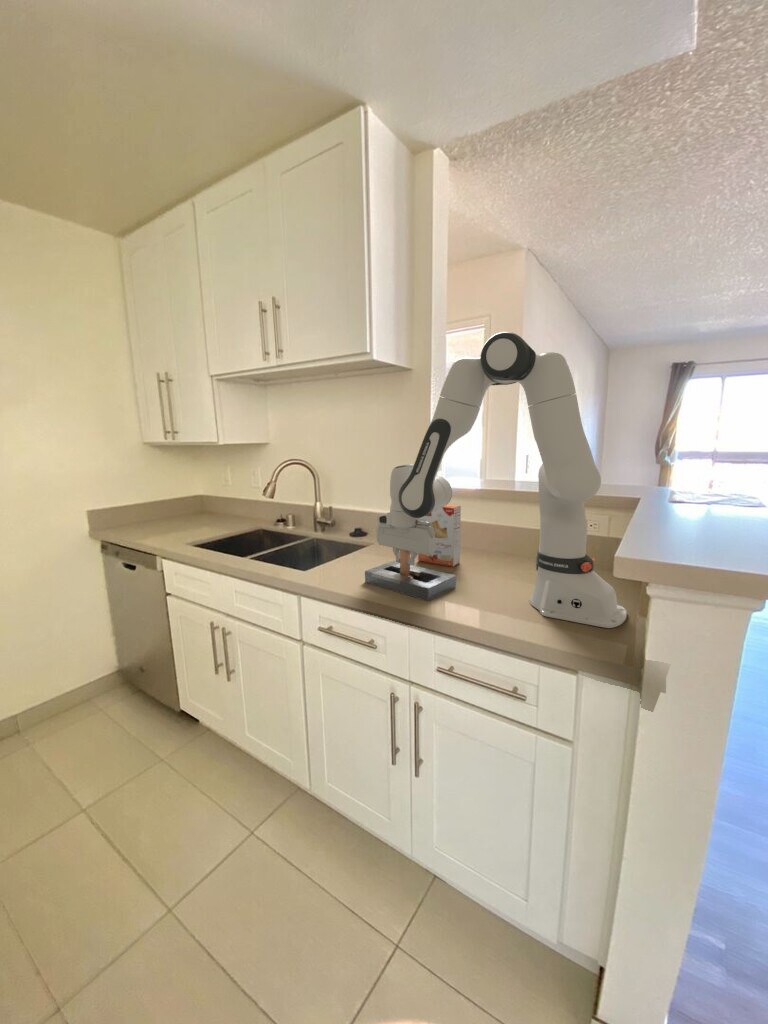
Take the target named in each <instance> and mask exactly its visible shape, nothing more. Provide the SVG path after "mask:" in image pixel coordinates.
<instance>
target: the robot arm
mask: <svg viewBox="0 0 768 1024" xmlns="http://www.w3.org/2000/svg"><path fill="white" fill-rule="evenodd" d="M516 383H519V384H520V385H521V386H522V389H523V391H524V394H525V398H526V403H527V406H528V408H527V409H528V413H529V419H530V423H531V428H532V433H533V439H534V441H535V443H536V446H537V449H538V453H539V455H540V458H541V462H542V464H541V465H540V467H539V469H538V474H537V476H538V477H537V478H538V504H539V505H538V506H539V507H538V508H539V517H540V518H539V519H540V520H539V521H540V522H539V542H538V543H539V545H538V550H537V552H536V559H535V560H536V561H535V567H536V568H535V569H536V577H535V583H534V587H533V590H532V593H531V597H530V599H529V603H530V605H531V606H532V607H533V608H535V609H537V610H538V611H539V613H540V614H541V615H542V616H544V617H548V618H553V619H557V620H563V621H569V622H574V623H579V624H585V625H589V626H594V627H601V628H605V629H613V628H616V627H619V626H621V625H622V624H623V623H624V622H625V621H626V620H627V615H628V614H627V609H626V608H625V607H623V606H622V605H619V604H618V599H617V593H616V590H615V588H614V587H613V586H612V585H611V584H609V583H608V582H607V581H606V580H604V578H602V577H601V576H600V575H598V573H596V572H595V571H594V568H595V566H594V564H595V560H596V558H595V557H593V558H591V557H590V556H589V555H587V538H588V529H589V527H588V520H587V516H586V509H585V508H586V507H585V502H587V501H589V500H591V499H593V498H594V497H595V495H597V493H598V492H599V490H600V488H601V482H602V477H601V474H600V472H599V470H598V467H597V465H596V463H595V460H594V456H593V453H592V450H591V447H590V445H589V442H588V439H587V437H586V433H585V430H584V427H583V424H582V423H583V422H582V418H581V412H580V407H579V402H578V396H577V392H576V390H577V389H576V385H575V382H574V379H573V375H572V373H571V370H570V366H569V364H568V362H567V360H566V358H565V356H564V355H563V354H561V353H559V352H554V351H553V352H552V351H551V352H550V351H549V352H544V353H540V354H536V352H535V350H534V349H533V348H532V347H531V346H530V345H529V344H528V343H527V342H526V341H525V340H524V338H522V337H521V336H520V335H518V334H517V333H514V332H510V331H501V332H499V333H496V334H494V335H492V336H491V337H489V338H488V339H487V340H486V342H484V345H483V347H482V348H481V352H480V357H478V358H477V357H476V358H475V357H470V356H466V357H461V358H458V359H456V360H455V361H454V362H453V363H452V365H451V366H450V368H449V371H448V374H447V375H446V377H445V379H444V382H443V384H442V385H443V386H442V388H441V390H440V394H439V397H438V400H437V405H436V407H435V411H434V413H433V416H432V419H431V421H430V423H429V426H428V428H427V430H426V432H425V435H424V438H423V440H422V442H421V445H420V447H419V451H418V452H417V455H416V458H415V461H414V463H410V464H402V465H397V466H396V467H394V468H393V469H392V470H391V474H390V481H389V496H390V500H391V502H390V503H391V504H390V507H389V512H387V513H385V514H381V515H378V516H377V517H376V521H377V523H378V524H377V526H376V542H377V543H378V545H379V546H383V547H387V548H392V552H393V554H394V556H395V561H396V562H398V563H400V549H401V550H406V551H410V559H407V562H408V563H407V565H411V566H412V565H414V566H415V561H416V558H417V556H418V553H420V554H425V555H429V554H432V553H434V551H435V549H436V546H435V536H434V527H433V526H432V525H431V524H430V523H429V522H422V521H420V518H421V517H424V516H425V515H427V514H429V513H431V512H433V511H436V510H438V509H441V508H443V507H444V506H446V505H449V503H450V502H451V499H452V496H453V491H452V486H451V484H450V483H449V481H448V480H447V479H446V478H443V477H441V476H437V474H438V472H439V469H440V467H441V464H442V462H443V458H444V456H445V454H446V452H447V451H448V449H449V448H450V447H451V446H452V445H453V444H454V443H456V442H457V441H458V440H459V439H461V438H462V437H464V436H465V435H467V434H468V433H469V432H470V431H471V430H472V428H473V426H474V425H475V422H476V421H477V419H478V415H479V413H480V410H481V406H482V403H483V399H484V397H485V395H486V392H487V391H488V389H489V388H490V387H491V386H502V385H503V386H508V385H513V384H516Z"/></svg>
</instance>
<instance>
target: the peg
mask: <svg viewBox="0 0 768 1024" xmlns="http://www.w3.org/2000/svg"><path fill="white" fill-rule="evenodd" d="M399 551H400V574H403V575H407V576H410V578H411V579H413V576H412V575H410V565H407V563H408V562H407V559H410V557H411V555H410V551H406V550H401V549H400V550H399Z"/></svg>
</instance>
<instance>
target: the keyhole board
mask: <svg viewBox="0 0 768 1024" xmlns="http://www.w3.org/2000/svg"><path fill="white" fill-rule="evenodd" d="M410 575H412V576H413V579H411V578H410V576H407V575H403V574H400V563H398V562H396V560H393V561H389V562H387V563H384V564H381V565H379V566H376V567H372V568H370V569H366V570H365V571H364V582H365V584H366V583H367V584H370V585H372V586H376V587H379V588H383V589H385V590H386V589H388V590H390V591H394V592H397V593H399V594H403V595H407V596H409V597H414V598H417V599H419V600H422V601H427V602H429V601H431V600H434V599H435V598H438V597H439V596H442V595H443V594H445V593H447V592H449V591H451V590H452V589H455V588H456V585H457V575H455V574H451V573H447V572H442V571H439V570H434V569H430V568H426V567H421V566H417V565H415V564H414V565H412V566H411V565H410Z"/></svg>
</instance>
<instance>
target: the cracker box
mask: <svg viewBox="0 0 768 1024" xmlns="http://www.w3.org/2000/svg"><path fill="white" fill-rule="evenodd" d="M461 507H462V506H461V505H456V504H454V505H453V504H447V505H446V506H444V507H443V508H441V509H438V510H436V511H433V512H431V513H429V514H427V515H425V516H424V517H421V518H420V521H422V522H429V523H430V524H431V525H432V526H433V527H434V536H435V546H436V549H435V551H434V553H432V554H429V555H425V554H420V553H418V555H417V556H418V558H417V560H418V561H419V562H425V563H428V564H429V563H430V564H434V565H439V566H440V565H441V566H446V567H451V568H453V567H455V566H457V565H458V564H460V563H461V562H460V561H461V511H462V509H461Z"/></svg>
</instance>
